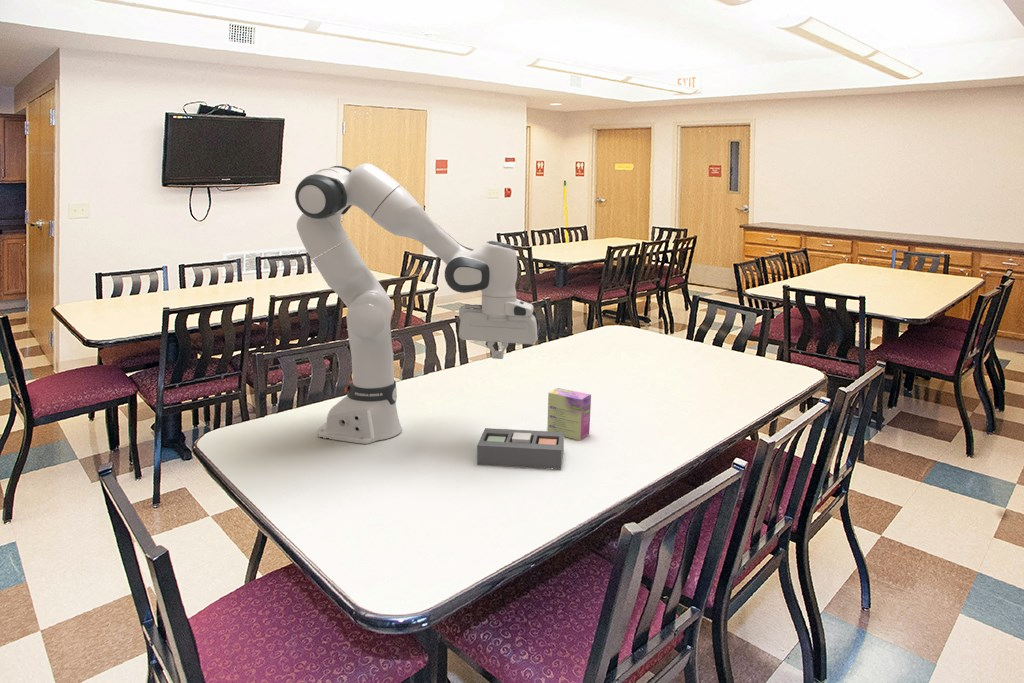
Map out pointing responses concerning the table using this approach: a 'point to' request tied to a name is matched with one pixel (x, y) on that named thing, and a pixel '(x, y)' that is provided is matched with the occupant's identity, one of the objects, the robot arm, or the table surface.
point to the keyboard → (520, 449)
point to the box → (569, 413)
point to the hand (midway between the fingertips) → (497, 358)
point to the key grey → (521, 438)
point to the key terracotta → (548, 441)
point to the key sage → (496, 439)
